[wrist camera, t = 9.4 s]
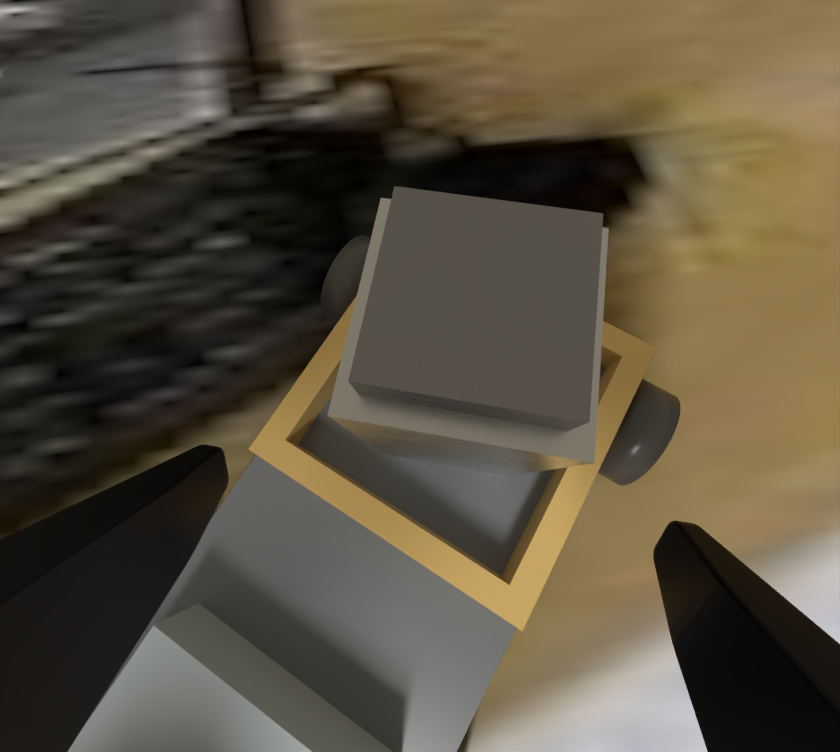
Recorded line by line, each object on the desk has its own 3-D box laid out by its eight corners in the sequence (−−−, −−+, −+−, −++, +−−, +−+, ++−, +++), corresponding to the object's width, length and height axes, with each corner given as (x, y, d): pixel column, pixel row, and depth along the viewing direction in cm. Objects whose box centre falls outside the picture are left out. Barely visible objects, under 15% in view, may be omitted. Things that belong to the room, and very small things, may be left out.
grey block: (504, 476, 16) (620, 459, 6) (382, 454, 16) (312, 405, 7) (518, 359, 17) (631, 194, 7) (405, 341, 17) (374, 161, 8)
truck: (399, 914, 15) (382, 1158, 9) (101, 663, 17) (-48, 742, 12) (644, 392, 20) (723, 357, 14) (386, 257, 22) (372, 184, 17)
